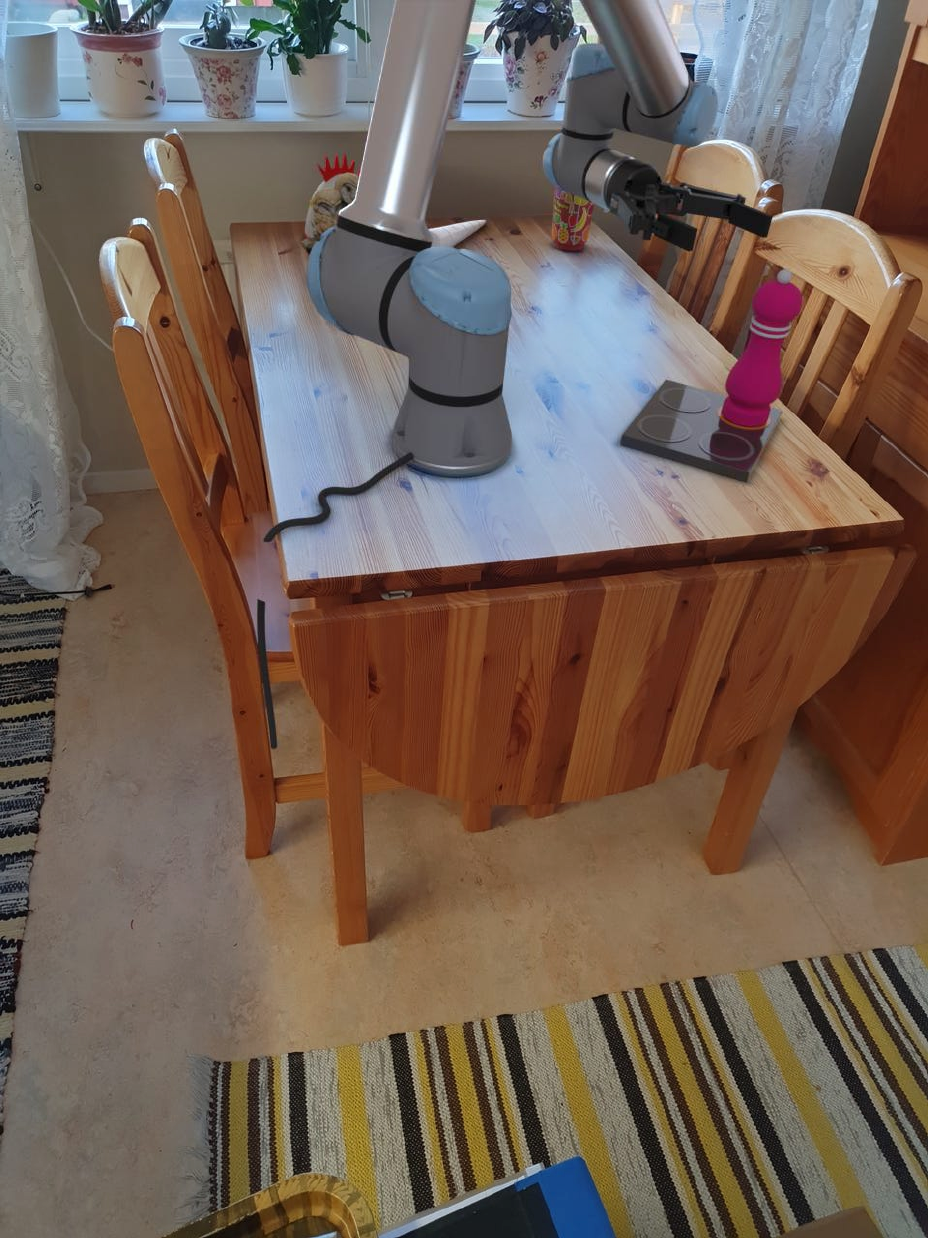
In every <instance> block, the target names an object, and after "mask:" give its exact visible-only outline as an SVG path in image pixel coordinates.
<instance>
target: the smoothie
mask: <svg viewBox="0 0 928 1238" xmlns="http://www.w3.org/2000/svg"><path fill="white" fill-rule="evenodd" d="M594 209H595V204H593V203H591V202H589V201H587V200H585V199H582V198H580V197H578V196H576V195H573V194H570V193H567V192H565V191H563V190H562V189H561V188H560V187H558V186H556V185H555V184H554V194H553V209H552V227H551V240H553V246H554V247H555V248H556V249H558V250H562V251H565V252H576V251H580V250H582V249H583V248H584V247H585V244H586V243H587V242H588V239H589V233H590V227H591V223H592V218H593V213H594Z"/></svg>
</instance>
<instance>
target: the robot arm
mask: <svg viewBox="0 0 928 1238" xmlns="http://www.w3.org/2000/svg"><path fill="white" fill-rule="evenodd" d="M579 2H580V5H581V6H582V8H583V10H584V11H585V14H586V16H587V17H588V19H589V21H590V23H591V25H592V26H593V29H594V31H595V33H596V34H597V36H598V39H599V40H600V42H601V43H596V42H595V43H594V42H592V43H591V42H590V43H589V42H587V43H581V44H579V45H576V47H575V48H574V49H573V50H572V53H571V58H570V65H569V69H568V75H567V78H566V83H567V84H566V91H565V92H566V93H565V98H564V99H565V100H564V109H563V119H562V126H561V130H560V132H559V133H557V134H556V135H554V136H553V137H552V138H551V139H550V141H548V145H547V148H546V149H545V151H544V152H543V157H542V168H543V172H544V176H545V177H546V178H547V180H548V181H549V182H550V183H551V184H553V185H554V186H555V185H556V186H558V187H560V188H561V189H562V190H563V191H565V192H567V193H570V194H573V195H576V196H578V197H580V198H582V199H585V200H587V201H589V202H591V203H593V204H594V205H596V206H598V207H600V208H602V209H603V213H606V214H607V213H609V212H610V213H612V214H613V215H615V216H616V217H617V218H618V219H619V220H620V222H621V223H622V225H623V226H624V228H625V229H626V230H627V231H628V233H629V234H631V235H633V236H636V235H639V233H640V231H642V235H641V239H642V240H644V241H651V240H652V237H653V236H655V237H657V238H659V239H661V240H663V241H664V242H667V243H669V244H671V245H674V246H676V247H678V248H680V249H682V250H684V251H687V252H689V253H690V252H693V251H694V247H695V244H696V243H695V242H696V239H697V235H698V234H697V233H698V228H697V227H695V226H693V225H691V224H688V223H687V222H684V221H682V220H679V219H677V218H675V217H673V216H677V217H684V216H685V215H687V214H690V215H695V216H702V217H707V218H715V219H720V220H727V223H728V224H730V225H732V226H735V227H736V228H739V229H742V230H744V231H746V232H749V233H750V234H753V235H755V236H758V237H760V238H762V239H765V238H768V236H769V232H770V228H771V225H772V221H773V217H774V216H773V215H771V214H769V213H767V212H764V211H762V210H759V209H756V208H754V207H752V206H750V205H747V204H746V200H747V197H745V196H743V195H742V194H740V193H737V194H736V195H735V194H731V193H728V192H727V193H726V192H722V191H717V190H713V189H709V188H704V187H701V186H700V187H699V186H697V185H692V184H690V183H686V182H684V181H683V182H679V185H678V186H676V185H673V184H672V183H671V182H670V183H669V182H663V181H662V177H661V174H660V173H659V171H658V169H657V168H656V167H655V166H654V165H652V164H649V163H647V162H644V161H642V160H639V159H636V158H635V157H634V156H631V155H628V154H626V153H623V152H620V151H618V150H615V149H612V148H611V146H612V140H613V137H614V130H617V131H622V132H626V133H631V134H634V135H638V136H642V137H645V138H646V137H647V138H650V139H654V140H656V141H661V142H664V143H668V144H672V146H677V145H678V146H679V145H680V146H683V147H690V148H696V147H698V146H701V145H702V144H703V143H704V142H705V141H706V140H707V139H708V138H709V135H710V134H711V131H712V129H713V127H714V125H715V122H716V119H717V116H718V111H719V94H718V91H717V90H716V88H714V87H713V86H712V85H708V84H705V83H703V82H702V81H693V80H692V79H691V77H690V74H689V72H688V69H687V67H686V63H685V61H684V60H683V57H682V55H681V52H680V49H679V47H678V44H677V42H676V39H675V37H674V35H673V32H672V29H671V28H670V24H669V23H668V19H667V18H666V15H665V13H664V11H663V8H662V5H661V2H660V0H579ZM476 3H477V0H394V5H393V9H392V15H391V19H390V23H389V29H388V34H387V40H386V43H385V48H384V53H383V59H382V63H381V68H380V74H379V79H378V84H377V89H376V93H375V99H374V104H373V108H372V114H371V118H370V122H369V123H370V124H369V127H368V131H367V137H366V143H365V148H364V153H363V156H362V157H363V158H362V163H361V166H360V167H361V172H360V177H359V182H358V187H357V192H356V197H355V200H354V201H353V202H352V203H351V204H350V205H348V206H347V207H345V208H344V209H342V210H341V211H340V212H339V215H338V220H337V225H336V227H334V228H330V229H328V230H326V231H325V232H324V233H323V234H322V235H321V236H320V239H321V240H320V241H319V242H316V243H315V244H314V246H313V248H312V251H311V253H310V254H309V257H308V261H307V262H308V263H307V268H306V283H307V290H308V295H309V297H310V300H311V302H312V304H313V305H314V307H315V309H316V312H317V313H318V314H319V316H321V318H323V319H324V321H326V322H328V323H329V324H331V325H333V326H335V327H337V328H338V329H340V330H341V331H342V332H344V333H346V334H347V335H350V336H356V337H359V338H361V339H363V340H366V341H368V342H370V343H372V344H376V345H377V346H380V347H382V348H385V349H387V350H389V351H391V352H394V353H397V354H399V355H402V356H404V357H406V358H407V359H408V380H407V381H408V382H407V383H408V384H407V390H406V393H405V395H404V398H403V401H402V403H401V406H400V408H399V411H398V414H397V417H396V419H395V422H394V424H393V430H392V448H393V451H394V453H395V454H396V456H397V457H398V459H396V460H394V461H393V462H391V463H390V464H389V465H387V466H385V467H384V468H382V469H381V470H380V471H379V472H377V473H376V474H374V475H373V476H372V477H371V478H369V479H368V480H367V481H365V482H363V483H362V484H359V485H356V486H351V487H346V486H345V487H343V486H329V487H325V488H323V489H322V490H321V491H319V493H318V495H317V500H318V503H319V505H320V507H321V510H322V512H320V513H319V514H318V515H315V516H309V517H296V518H290V519H285V520H283V521H281V522H279V523H277V524H275V525H274V526H273V527H272V528H270V529H269V531H268V532H267V533H266V534H265V536H264V537H263V539H262V541H263V543H270V542H272V541H273V540H274V538H275V537H276V536H277V535H278V534H279V533H281V532H282V531H283V530H286V529H290V528H295V527H303V526H313V525H317V524H320V523H323V522H324V521H326V520H327V519H328V518H329V517H330V515H331V507H330V504H329V503H328V501H327V499H326V498H327V497H328V496H329V495H343V496H344V495H346V496H347V495H348V496H351V495H358V494H361V493H364V492H366V491H367V490H369V489H371V488H373V487H374V486H375V485H377V484H378V483H379V482H380V481H381V480H382V479H384V478H385V477H387V476H388V475H390V474H391V473H392V472H395V471H396V470H397V469H399V468H400V467H402V466H404V465H405V464H406V465H408V466H409V467H412V468H414V469H415V470H417V471H420V472H423V473H426V474H430V475H434V476H440V477H448V478H449V477H450V478H465V477H473V476H475V477H476V476H478V475H479V476H480V475H483V474H487V473H490V472H492V471H494V470H496V469H498V468H500V467H501V466H503V465H504V464H505V463H506V462H508V460H509V458H510V456H511V454H512V448H513V447H512V446H513V434H512V432H513V431H512V428H511V424H510V420H509V415H508V411H507V408H506V403H505V399H504V395H503V391H504V379H505V371H506V360H507V352H508V351H507V349H508V341H509V332H510V324H511V322H512V316H513V315H512V314H513V311H512V305H511V304H512V284H511V281H510V278H509V276H508V273H506V271H505V270H504V269H503V267H502V266H501V265H500V264H498V263H497V262H496V261H495V260H493V259H491V258H490V257H489V256H486V255H484V254H481V253H479V252H478V251H474V250H471V249H467V248H461V249H457V248H455V246H453V247H446V246H441V247H431V246H432V242H433V237H432V235H431V233H430V232H429V230H428V229H429V228H428V226H427V222H426V217H427V213H428V212H427V211H428V208H429V204H430V201H431V200H430V199H431V195H432V191H433V187H434V183H435V178H436V173H437V169H438V165H439V162H440V158H441V157H440V156H441V152H442V148H443V143H444V140H445V136H446V131H447V127H448V123H449V118H450V115H451V114H450V113H451V109H452V106H453V102H454V98H455V97H454V96H455V92H456V89H457V85H458V79H459V75H460V71H461V67H462V63H463V58H464V55H465V50H466V46H467V41H468V37H469V33H470V28H471V24H472V20H473V16H474V11H475V7H476ZM679 205H681V207H680V209H678V207H679ZM656 216H657V217H656ZM256 604H257V605H256V632H257V634H256V635H257V649H258V660H259V666H260V676H261V680H262V690H263V695H264V696H263V697H264V701H265V709H266V716H267V724H268V733H269V747H270V749H271V750H276V749H277V748H278V738H277V737H278V736H277V726H276V720H275V710H274V702H273V695H272V691H271V690H272V687H271V680H270V674H269V673H270V672H269V665H268V658H267V646H266V645H267V644H266V601H264V600H261V599H259V598H257V602H256Z"/></svg>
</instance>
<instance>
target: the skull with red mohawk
mask: <svg viewBox="0 0 928 1238" xmlns="http://www.w3.org/2000/svg"><path fill="white" fill-rule="evenodd" d="M329 160H330V159H329V158H328V157H327V155H324V168H322V167H321V165H320V164H319V163H316V164H317V168H318V171H319V173H320V175H321V176H322V178H323V181H322V182H321V183H320V184H319V185H318V187H317V188H316V189H315V191H314V193H313V195H312V197H311V200H310V201H309V206H308V210H307V214H306V220H305V223H304V224H305V226H304V239H307V237H310V238H313V227H312V223H311V219H312V218H313V216H314V214H313V213H314V210H313V199H314V197H315V194H316V193H317V192H318V191H320V190H322V189H325V188H331V189H333V190H334V186H335V181H336V179H337V178H339V177H340V176H341V175H343V174H345V173H347V172H348V173H353V174H356V175H358V176H359V177H360V172H361V167H362V166H360V167H359V169H358V171H357V172H356V173H354V171H355V166H356V161H355V160H354V159H352V160H351V163H349V165H348V157H347V155H346V154H345V153H343V155H342V160H341V164H340V161H339V156H338V154H337V153H336V154H335V156H334V160H333V166H331V164H330V161H329Z"/></svg>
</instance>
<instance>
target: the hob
mask: <svg viewBox="0 0 928 1238" xmlns="http://www.w3.org/2000/svg"><path fill="white" fill-rule="evenodd" d="M728 396H729V395H724V394H721V393H718V392H713V391H710V390H707V389H703V388H699V387H695V386H692V385H687V384H684V383H680V382H677V381H672V380H670V379H665V380H664V381H663V383H662V384H661V385H660V387H658V389H657V390H656V392H655V393H653V395H652V396H651V398H649V400H648V401H647V403H646V404H645V405H644V406H643V408H642V409H641V410H640V411H639V413H638V414H637V416H636V417H635V418H634V419H633V421H632V422H631V423H630V425H629V426H628V427H626V430H625V431H624V432H623V433H622V435H621V438H620V443H619V444H620V446H623V447H626V448H629V449H633V450H636V451H640V452H643V453H647V454H649V455H653V456H657V457H659V458H664V459H666V460H670V461H673V462H676V463H680V464H683V465H687V466H690V467H693V468H696V469H699V470H703V471H705V472H706V471H707V472H709V473H714V474H717V475H721V476H723V477H727V478H729V479H733V480H737V481H740V482H744V483H748V482H749V479H750V477H751V476H752V473H753V471H754V470H755V468H756V466H757V464H758V462H759V460H760V458H761V457H762V455H763V453H764V451H765V449H766V447H767V445H768V443H769V441H770V439H771V438H772V436H773V434H774V433H775V430H776V428H777V426H778V425H779V422H780V421H781V417H782V414H783V410H780V409H775V408H772V407H771V411H770V414H769V418H768V420H767V422H766V423H765V424H763V425H760V426H754V427H750V426H742V425H738V424H735V423H733V422H731V421H729V420H728V419H726V418H725V417H724V416H723V414H722V408H723V404H724V400H725V398H727V397H728Z"/></svg>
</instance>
